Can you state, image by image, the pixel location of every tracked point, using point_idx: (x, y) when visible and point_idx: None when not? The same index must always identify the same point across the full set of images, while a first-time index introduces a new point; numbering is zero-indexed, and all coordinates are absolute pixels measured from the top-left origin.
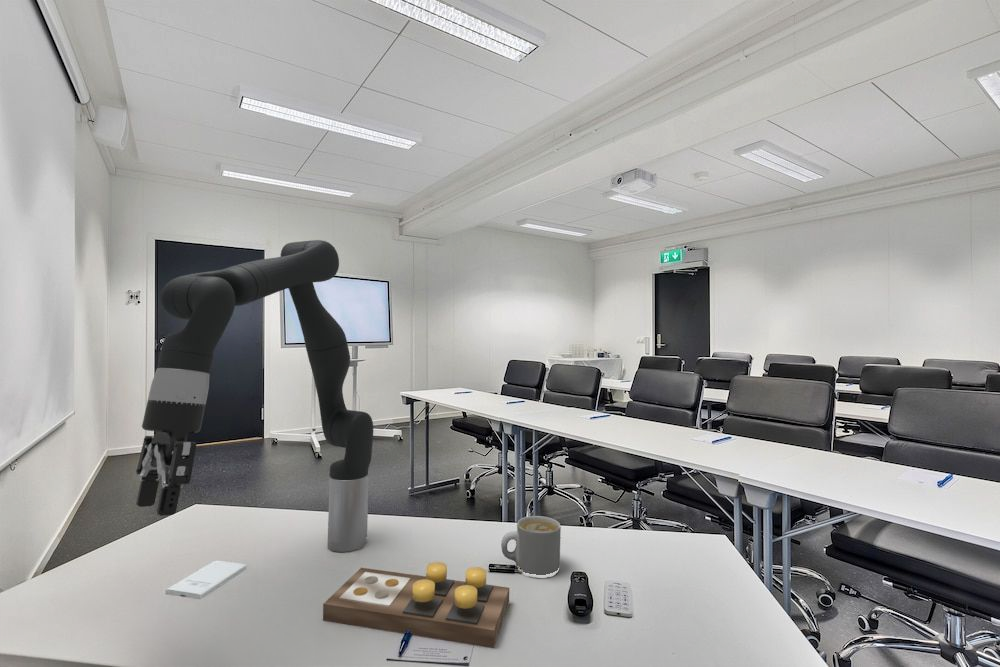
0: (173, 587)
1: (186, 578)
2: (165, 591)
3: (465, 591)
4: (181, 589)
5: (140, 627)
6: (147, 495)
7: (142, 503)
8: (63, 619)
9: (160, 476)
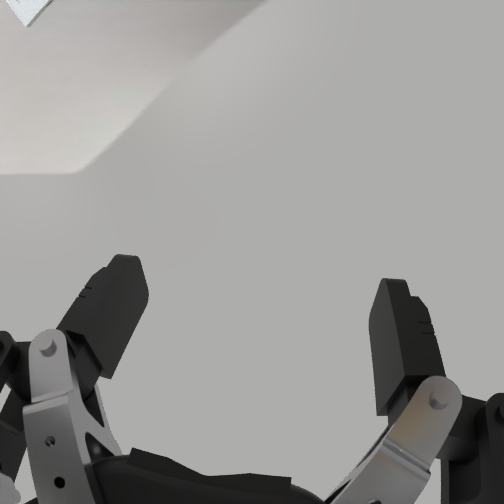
0: (26, 17)
1: (12, 2)
2: (27, 26)
3: None
4: (38, 6)
5: (102, 54)
6: (126, 308)
7: (143, 294)
8: (35, 132)
9: (67, 350)
